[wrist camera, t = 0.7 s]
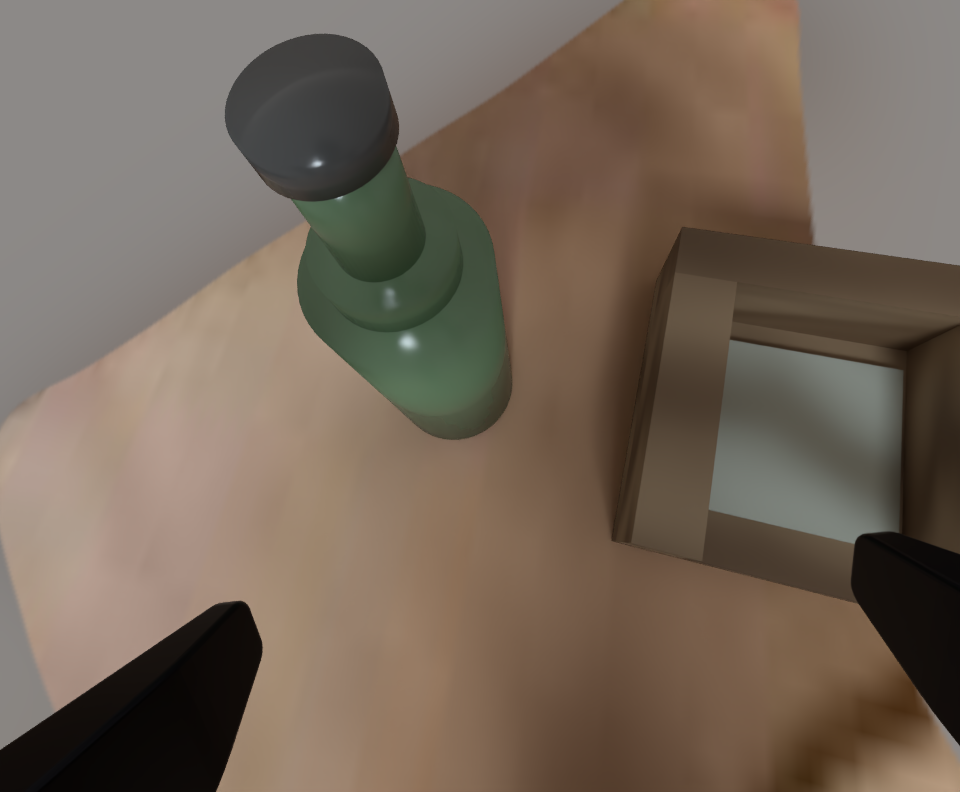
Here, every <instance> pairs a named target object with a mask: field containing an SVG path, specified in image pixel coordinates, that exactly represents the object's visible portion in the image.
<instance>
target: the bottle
mask: <svg viewBox="0 0 960 792" xmlns="http://www.w3.org/2000/svg"><path fill="white" fill-rule="evenodd" d="M225 122H226V127H227V130H228V133H229V135H230V137H231V139H232V141H233V142H234V143H235V145H236V146H237V147H238V149H239V150H240V151H241V153H242V154H243V155H244V156H245V157H246V159H247V160H248V162H249V163H250V164H251V166H252V167H253V168H254V169H255V171H256V172H257V173H258V175H259V176H260V177H261V179H262V180H263V181H264V182H265V183H266V185H268V186H269V187H270V188H271V189H272V190H274V191H275V192H277V193H278V194H280V195H283V196H285V197H287V198H290V199H291V200H292V201H293V202H294V204H295V205H296V206H297V208H298V209H299V211H300V212H301V213H302V215H303V216H304V218H305V219H306V220H307V222H308V223H309V224H310V226H311V228H310V230H309V233H308V237H307V241H306V246H305V249H304V252H303V254H302V257H301V260H300V265H299V269H298V278H297V288H298V297H299V302H300V305H301V308H302V311H303V314H304V316H305V318H306V320H307V322H308V324H309V325H310V326H311V328H312V329H313V330H314V332H315V333H316V334H317V335H318V336H319V337H320V338H321V339H322V340H323V341H324V342H325V343H326V344H327V345H328V346H329V347H330V348H331V349H333V350H334V351H335V352H336V353H337V354H338V355H339V356H340V357H341V358H343V359H344V360H345V361H346V362H347V363H348V364H349V365H350V366H351V367H352V368H354V369H355V370H356V371H357V372H358V373H359V374H360V375H361V376H362V377H363V378H365V379H366V380H367V381H368V382H369V383H370V384H371V385H372V386H373V387H374V388H376V389H377V390H378V391H379V392H380V393H381V394H382V395H383V396H384V397H386V398H387V399H388V400H389V401H390V402H391V403H392V404H393V405H394V406H395V407H397V408H398V409H399V410H400V411H401V412H402V413H403V414H404V415H405V416H406V417H408V418H409V419H410V420H411V421H412V422H413V423H414V424H415V425H416V426H418V427H419V428H420V429H421V430H423V431H424V432H426V433H428V434H430V435H432V436H435V437H438V438H442V439H449V440H459V439H465V438H469V437H473V436H475V435H478V434H480V433H482V432H483V431H485V430H487V429H488V428H489V427H491V426H492V425H493V424H494V423H495V422H496V421H497V420H498V419H499V418H500V417H501V415H502V414H503V412H504V411H505V409H506V407H507V405H508V402H509V400H510V396H511V392H512V374H511V367H510V360H509V353H508V346H507V339H506V332H505V325H504V318H503V311H502V304H501V297H500V290H499V283H498V276H497V268H496V261H495V254H494V249H493V243H492V240H491V237H490V234H489V232H488V230H487V228H486V226H485V224H484V222H483V221H482V219H481V218H480V216H479V215H478V214H477V212H476V211H475V210H474V209H473V208H472V207H471V206H470V205H469V204H467V203H466V202H465V201H463V200H462V199H461V198H459V197H458V196H456V195H454V194H452V193H450V192H448V191H446V190H443V189H441V188H438V187H434V186H430V185H426V184H424V183H422V182H420V181H417V180H415V179H411V178H408V177H407V175H406V172H405V170H404V167H403V164H402V161H401V158H400V156H399V153H398V150H397V147H396V144H397V140H398V135H399V122H398V116H397V113H396V110H395V107H394V104H393V101H392V98H391V95H390V91H389V89H388V85H387V82H386V79H385V76H384V73H383V70H382V67H381V65H380V63H379V61H378V59H377V58H376V57H375V56H374V54H373V53H372V52H371V51H370V50H369V49H368V48H367V47H365V46H364V45H362V44H361V43H359V42H357V41H355V40H353V39H350V38H347V37H344V36H339V35H333V34H313V35H305V36H301V37H297V38H293V39H290V40H287V41H285V42H282V43H280V44H278V45H276V46H274V47H272V48H270V49H268V50H267V51H265V52H264V53H262V54H261V55H259V56H258V57H257V58H256V59H254V60H253V61H252V62H251V63H250V64H249V65H248V66H247V67H246V68H245V69H244V70H243V71H242V73H241V74H240V75H239V77H238V78H237V79H236V81H235V83H234V84H233V86H232V88H231V90H230V93H229V95H228V98H227V101H226V107H225Z"/></svg>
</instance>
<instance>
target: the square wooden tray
mask: <svg viewBox="0 0 960 792" xmlns="http://www.w3.org/2000/svg"><path fill="white" fill-rule="evenodd" d="M883 531H893V532H897V533H900V534H903V535H906V536H909V537H912V538H915V539H918V540H921V541H923V542H926V543H929V544H932V545H935V546H938V547H941V548H944V549H947V550H950V551H952V552H955V553H958V554H960V266H959V265H951V264H944V263H937V262H929V261H922V260H915V259H909V258H901V257H894V256H887V255H879V254H873V253H865V252H858V251H851V250H844V249H837V248H830V247H823V246H815V245H808V244H801V243H794V242H787V241H780V240H772V239H765V238H758V237H751V236H744V235H737V234H729V233H722V232H715V231H708V230H701V229H694V228H686V227H682V229H681V231H680V233H679V235H678V237H677V239H676V241H675V243H674V245H673V247H672V250H671V252H670V254H669V256H668V258H667V260H666V262H665V264H664V266H663V268H662V270H661V272H660V274H659V276H658V278H657V281H656V287H655V293H654V299H653V304H652V310H651V316H650V322H649V328H648V333H647V339H646V345H645V351H644V357H643V362H642V368H641V374H640V380H639V386H638V391H637V397H636V403H635V409H634V415H633V420H632V426H631V432H630V438H629V444H628V449H627V455H626V461H625V467H624V473H623V478H622V484H621V490H620V496H619V502H618V507H617V513H616V519H615V525H614V531H613V536H612V541H614V542H618V543H621V544H625V545H629V546H633V547H637V548H641V549H645V550H649V551H653V552H657V553H661V554H665V555H669V556H673V557H677V558H680V559H684V560H688V561H692V562H696V563H700V564H704V565H708V566H712V567H716V568H720V569H724V570H728V571H732V572H736V573H739V574H743V575H747V576H751V577H755V578H759V579H763V580H767V581H771V582H775V583H779V584H783V585H787V586H791V587H794V588H798V589H802V590H806V591H810V592H814V593H818V594H822V595H826V596H830V597H834V598H838V599H842V600H846V601H850V602H853V603H857V604H858V602H857V600H856V599H855V597H854V594H853V592H852V588H851V572H852V563H853V553H854V544H855V540H856V539H857V537H858V536H860V535H861V534H864V533H873V532H883Z"/></svg>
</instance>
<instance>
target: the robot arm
mask: <svg viewBox="0 0 960 792" xmlns="http://www.w3.org/2000/svg"><path fill="white" fill-rule="evenodd" d="M851 588H852V592H853V594H854V597H855V599H856V600H857V602H858V604H859V605H860V607H861V608H862V610H863V611H864V612H865V614H866V615H867V617H868V618H869V620H870V621H871V623H872V624H873V626H874V627H875V629H876V630H877V631H878V633H879V634H880V636H881V637H882V639H883V640H884V642H885V643H886V645H887V646H888V648H889V649H890V651H891V652H892V653H893V655H894V656H895V658H896V659H897V661H898V662H899V664H900V665H901V667H902V668H903V670H904V671H905V672H906V674H907V675H908V677H909V678H910V680H911V681H912V683H913V684H914V686H915V687H916V689H917V690H918V691H919V693H920V694H921V696H922V697H923V698H924V700H925V701H926V703H927V704H928V705H929V707H930V708H931V710H932V711H933V712H934V714H935V715H936V716H937V717H938V719H939V720H940V721H941V723H942V724H943V725H944V726H945V728H946V729H947V730H948V732H949V733H950V734H951V735H952V736H953V738H954V739H955V740H956V742H957V743H958V744H959V745H960V554H958V553H955V552H952V551H950V550H947V549H944V548H941V547H938V546H935V545H932V544H929V543H926V542H923V541H921V540H918V539H915V538H912V537H909V536H906V535H903V534H900V533H897V532H893V531H883V532H873V533H864V534H861V535H860V536H858V537H857V539H856V540H855V544H854V553H853V563H852V572H851ZM262 649H263V647H262V640H261V637H260V635H259V632H258V629H257V627H256V624H255V621H254V619H253V616H252V613H251V611H250V608H249V606H248V605H247V604H246V603H245V602H243V601H232V602H223V603H218V604H215V605H214V606H212V607H211V608H209V609H208V610H206V611H205V612H203V613H202V614H200V615H199V616H197V617H196V618H194V619H193V620H191V621H190V622H188V623H187V624H185V625H184V626H182V627H181V628H179V629H178V630H177V631H175V632H174V633H172V634H171V635H169V636H168V637H166V638H165V639H163V640H162V641H160V642H159V643H157V644H156V645H154V646H153V647H151V648H150V649H148V650H147V651H146V652H144V653H143V654H141V655H140V656H138V657H137V658H135V659H134V660H132V661H131V662H129V663H128V664H126V665H125V666H123V667H122V668H120V669H119V670H117V671H116V672H115V673H113V674H112V675H110V676H109V677H107V678H106V679H104V680H103V681H101V682H100V683H98V684H97V685H95V686H94V687H92V688H91V689H89V690H88V691H86V692H85V693H84V694H82V695H81V696H79V697H78V698H76V699H75V700H73V701H72V702H70V703H69V704H67V705H66V706H64V707H63V708H61V709H60V710H58V711H57V712H55V713H54V714H53V715H51V716H50V717H48V718H47V719H45V720H44V721H42V722H41V723H39V724H38V725H36V726H35V727H34V728H32V729H30V730H29V731H27V732H26V733H25V734H23V735H22V736H20V737H19V738H17V739H16V740H14V741H13V742H11V743H10V744H8V745H7V746H5V747H4V748H3V749H1V750H0V792H216V791H217V788H218V786H219V783H220V780H221V778H222V775H223V773H224V770H225V768H226V765H227V762H228V759H229V756H230V754H231V751H232V748H233V745H234V742H235V739H236V735H237V732H238V729H239V726H240V723H241V720H242V717H243V714H244V711H245V708H246V705H247V701H248V698H249V695H250V692H251V689H252V686H253V683H254V680H255V677H256V674H257V671H258V668H259V664H260V661H261V658H262Z"/></svg>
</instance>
